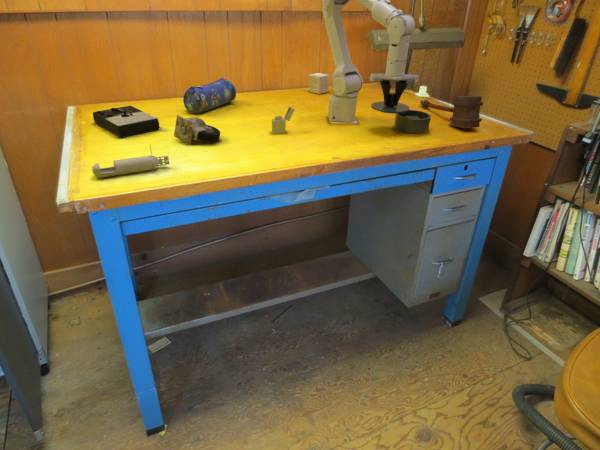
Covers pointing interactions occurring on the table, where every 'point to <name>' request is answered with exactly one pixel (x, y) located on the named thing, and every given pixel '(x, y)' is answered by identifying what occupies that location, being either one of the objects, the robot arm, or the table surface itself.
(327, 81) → the product box
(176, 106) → the table surface
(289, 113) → the lighter
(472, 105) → the hammer
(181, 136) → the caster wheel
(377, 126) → the table surface
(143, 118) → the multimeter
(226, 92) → the pencil case
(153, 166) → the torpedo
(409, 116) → the block
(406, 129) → the tin
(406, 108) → the lid
